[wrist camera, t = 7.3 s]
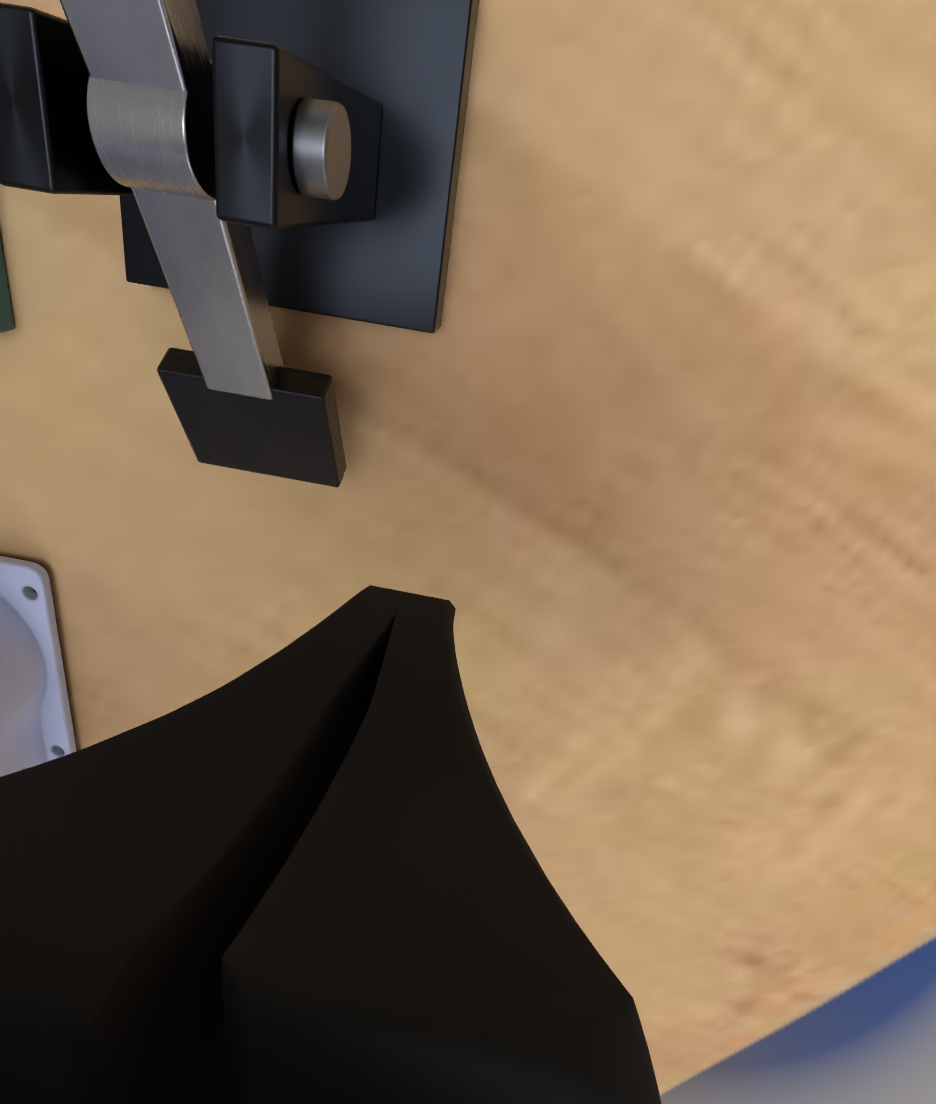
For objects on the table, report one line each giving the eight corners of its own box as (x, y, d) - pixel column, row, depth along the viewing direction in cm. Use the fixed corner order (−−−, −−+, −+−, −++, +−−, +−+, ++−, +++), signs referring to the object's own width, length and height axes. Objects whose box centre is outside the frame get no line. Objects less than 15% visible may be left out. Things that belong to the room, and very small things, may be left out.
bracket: (440, 327, 18) (371, 394, 12) (146, 277, 19) (-75, 316, 12) (480, -7, 15) (413, -163, 9) (123, -58, 15) (-193, -245, 9)
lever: (357, 438, 20) (329, 519, 18) (221, 414, 20) (183, 492, 19) (77, -1646, 4) (-276, -2228, 3) (-555, -1662, 4) (-1205, -2201, 3)
